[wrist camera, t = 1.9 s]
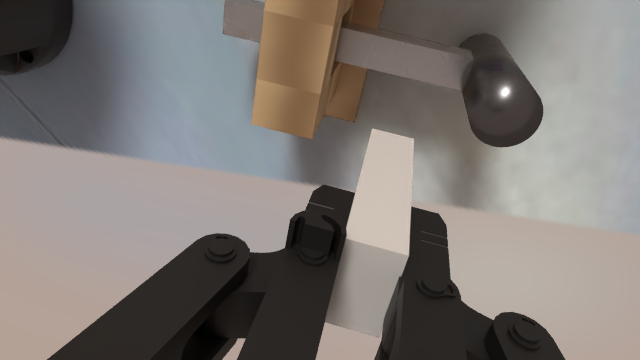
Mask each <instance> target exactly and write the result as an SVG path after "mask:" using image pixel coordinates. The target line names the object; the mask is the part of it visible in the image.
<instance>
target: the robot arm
mask: <svg viewBox="0 0 640 360" xmlns="http://www.w3.org/2000/svg"><path fill="white" fill-rule="evenodd" d="M71 22H72V0H0V75H14V74H19V73H23V72H26V71H29V70H32V69H34V68H37V67H40V66H42V65H45V64H46V63H48V62H50V61H51V60H52V59H54V58H55V57H56V56H57V55H58V54H59V52H60V51H61V50H62V48H63V47H64V45H65V43H66V41H67V38H68V35H69V32H70V28H71ZM413 154H414V139H412V138H408V137H405V136H401V135H397V134H393V133H389V132H385V131H381V130H377V129H373V128H372V131H371V135H370V138H369V142H368V146H367V150H366V154H365V157H364V161H363V165H362V169H361V172H360V176H359V180H358V184H357V188H356V191H355V193H353V192H350V191H346V190H342V189H338V188H334V187H331V186H327V185H322V186H320V187H319V188H317V189H316V190H314V191H313V193H312V195H311V198H310V200H309V203H308V205H307V207H306V210H305V211H302V212H300V213H297V214H295V215H294V216H293V217H292V218H291V219H290V224H289V230H288V235H287V240H286V246H285V248H284V249H282V250H279V251H276V252H271V253H252V252H250V249H249V248H248V246H247V244H246V243H245V242H244V241H242V240H241V239H239V238H238V237H235V236H232V235H229V234H211V235H206V236H204V237H202V238H200V239H198V240H197V241H195V242H194V243H193V244H192V245H190V246H189V247H188V248H186V249H185V250H184V251H183V252H182V253H180V254H179V255H178V256H176V257H175V258H174V259H173V260H171V261H170V262H169V263H168V264H166V265H165V266H164V267H163V268H161V269H160V270H159V271H158V272H156V273H155V274H154V275H153V276H151V277H150V278H149V279H148V280H146V281H145V282H144V283H143V284H141V285H140V286H139V287H138V288H136V289H135V290H134V291H133V292H131V293H130V294H129V295H128V296H126V297H125V298H124V299H122V300H121V301H120V302H119V303H118V304H116V305H115V306H114V307H113V308H111V309H110V310H109V311H107V312H106V313H105V314H104V315H103V316H101V317H100V318H99V319H97V320H96V321H95V322H94V323H92V324H91V325H90V326H89V327H87V328H86V329H85V330H84V331H82V332H81V333H80V334H79V335H77V336H76V337H75V338H74V339H72V340H71V341H70V342H69V343H68V344H66V345H65V346H64V347H62V348H61V349H60V350H59V351H57V352H56V353H55V354H54V355H52V356H51V357H50V358H48V359H47V360H222V359H223V357H224V356H225V355H226V354H227V353H228V352H229V350H230V349H231V348H232V347H233V345H234V344H235V343H236V341H237V339H238V338H246V340H245V342H244V344H243V347H242V349H241V351H240V354H239V356H238V358H237V360H315V359H316V355H317V351H318V347H319V343H320V339H321V335H322V331H323V327H324V323H325V322H327V323H330V324H334V325H337V326H340V327H344V328H347V329H351V330H354V331H358V332H361V333H365V334H368V335H372V336H375V337H379V336H380V333H381V330H382V327H383V332H382V341H381V343H380V346H379V349H378V351H377V354H376V357H375V360H565V358H564V357H563V355H562V353H561V352H560V350H559V348H558V346H557V345H556V343H555V341H554V339H553V338H552V337H551V335H550V334H549V333H548V332H547V330H546V329H545V328H543V327H542V326H541V325H540V324H538V323H537V322H536V321H535V320H533V319H531V318H529V317H527V316H525V315H521V314H518V313H514V312H504V313H501V314H499V315H498V316H496V317H495V319H494V320H492V319H490V318H488V317H486V316H484V315H482V314H480V313H478V312H477V311H475V310H473V309H472V308H470V307H468V306H467V305H466V304H465V303H464V302H462V301H461V295H460V293H459V290H458V288H457V286H456V285H455V284H454V283H453V282H452V280H451V279H450V268H449V254H448V248H447V247H448V240H447V227H446V224H445V223H444V221H443V220H442V218H441V217H440V215H439V214H437V213H433V212H429V211H426V210H422V209H419V208H415V207H411V199H412V176H413Z"/></svg>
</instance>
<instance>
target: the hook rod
mask: <svg viewBox="0 0 640 360" xmlns="http://www.w3.org/2000/svg"><path fill="white" fill-rule="evenodd" d="M264 8H265V2H260V1H256V0H225V6H224V21H223V34H226V35H230V36H234V37H238V38H242V39H246V40H251V41H255V42H259V43H261V34H262V25H263V16H264ZM334 61H338V62H342V63H346V64H351V65H355V66H359V67H363V68H367V69H372V70H376V71H380V72H384V73H388V74H392V75H397V76H401V77H405V78H409V79H413V80H417V81H422V82H426V83H430V84H434V85H438V86H442V87H447V88H451V89H455V90H459V91H462V94H463V98H464V102H465V106H466V110H467V114H468V118H469V122H470V126H471V129H472V131H473V133H474V134H475V135H476V137H477V138H478V139H480V140H481V141H482V142H484V143H486V144H488V145H491V146H495V147H509V146H514V145H517V144H519V143H522V142H523V141H525V140H527V139H528V138H529V137H531V136H532V135H533V134H534V133H535V131H536V130H537V129H538V127H539V125H540V123H541V121H542V117H543V105H542V101H541V99H540V97H539V95H538V94H537V92H536V91H535V90H534V88H533V87H532V85H531V84H530V82H529V81H528V80H527V78H526V77H525V75H524V74H523V72H522V71H521V70H520V68H519V67H518V65H517V64H516V62H515V61H514V60H513V58H512V57H511V55H510V54H509V52H508V51H507V50H506V48H505V47H504V45H503V44H502V43H501V41H500V40H499V39H497V38H496V37H494V36H492V35H488V34H478V35H474V36H472V37H470V38H468V39H467V40H465V41H464V42H463V43H462V44H461V46H460V47H459V48H458V47H454V46H450V45H445V44H441V43H437V42H432V41H428V40H424V39H420V38H415V37H411V36H407V35H402V34H398V33H394V32H389V31H385V30H381V29H377V28H372V27H368V26H364V25H359V24H355V23H351V22H346V21H342V22H341V27H340V32H339V37H338V42H337V47H336V52H335V57H334Z"/></svg>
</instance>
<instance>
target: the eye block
mask: <svg viewBox="0 0 640 360" xmlns="http://www.w3.org/2000/svg"><path fill="white" fill-rule="evenodd" d="M383 3H384V0H265V8H264V16H263V25H262V34H261V43H260V52H259V60H258V69H257V78H256V87H255V95H254V104H253V113H252V122H251V124H254V125H258V126H262V127H265V128H269V129H273V130H277V131H281V132H285V133H289V134H293V135H297V136H301V137H305V138H309V139H312V138H313V136H314V134H315V132H316V130H317V128H318V126H319V125H320V123H321V121H322V119H323V117H324V115H327V116H331V117H335V118H339V119H343V120H347V121H351V122H355V119H356V115H357V111H358V107H359V103H360V99H361V95H362V90H363V86H364V82H365V78H366V74H367V70H368V69H367V68H363V67H359V66H355V65H351V64H346V63H342V62H338V61H334V57H335V52H336V47H337V42H338V37H339V32H340V27H341V22H342V21H346V22H351V23H355V24H359V25H364V26H368V27H372V28H378V24H379V20H380V16H381V12H382V8H383Z"/></svg>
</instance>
